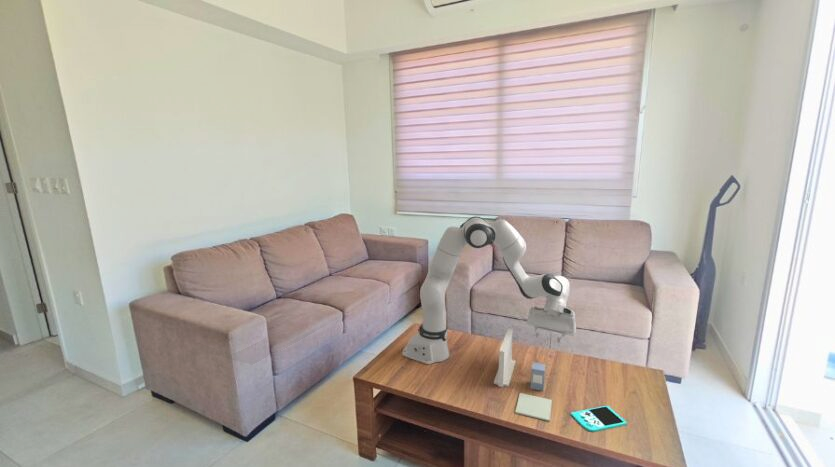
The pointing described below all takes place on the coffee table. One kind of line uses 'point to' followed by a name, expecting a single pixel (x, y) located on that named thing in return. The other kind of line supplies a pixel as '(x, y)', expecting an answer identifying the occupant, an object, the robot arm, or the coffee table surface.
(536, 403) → the sage mat
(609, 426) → the handheld game console
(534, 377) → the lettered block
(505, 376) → the screen
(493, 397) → the coffee table surface
